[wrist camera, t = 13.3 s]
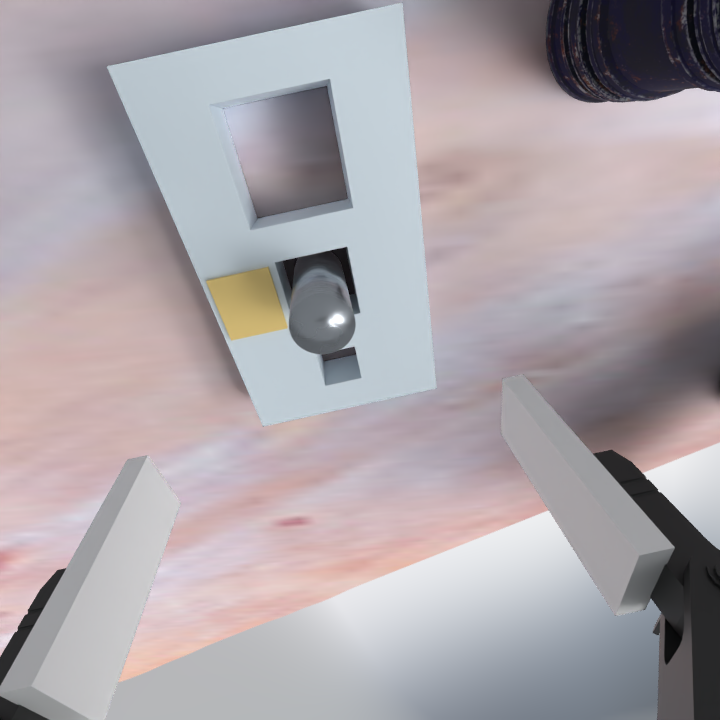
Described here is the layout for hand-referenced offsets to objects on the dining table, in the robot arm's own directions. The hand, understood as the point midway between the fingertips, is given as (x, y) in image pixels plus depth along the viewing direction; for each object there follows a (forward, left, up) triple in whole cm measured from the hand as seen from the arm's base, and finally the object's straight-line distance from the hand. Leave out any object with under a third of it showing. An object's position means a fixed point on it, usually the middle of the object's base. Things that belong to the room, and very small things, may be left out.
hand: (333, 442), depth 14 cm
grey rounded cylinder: (0, 0, -20) cm, 20 cm away
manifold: (0, -2, -20) cm, 20 cm away
